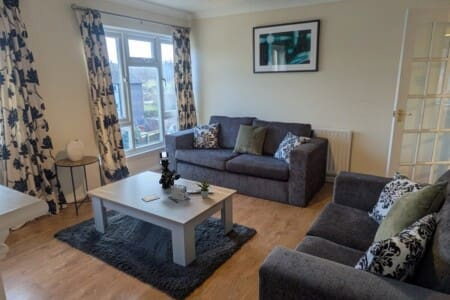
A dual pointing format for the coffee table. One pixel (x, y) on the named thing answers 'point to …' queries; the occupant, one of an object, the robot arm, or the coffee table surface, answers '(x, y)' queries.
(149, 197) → the label plate
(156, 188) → the coffee table surface
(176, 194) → the light bulb box
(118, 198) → the coffee table surface
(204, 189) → the house plant
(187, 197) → the label frame
